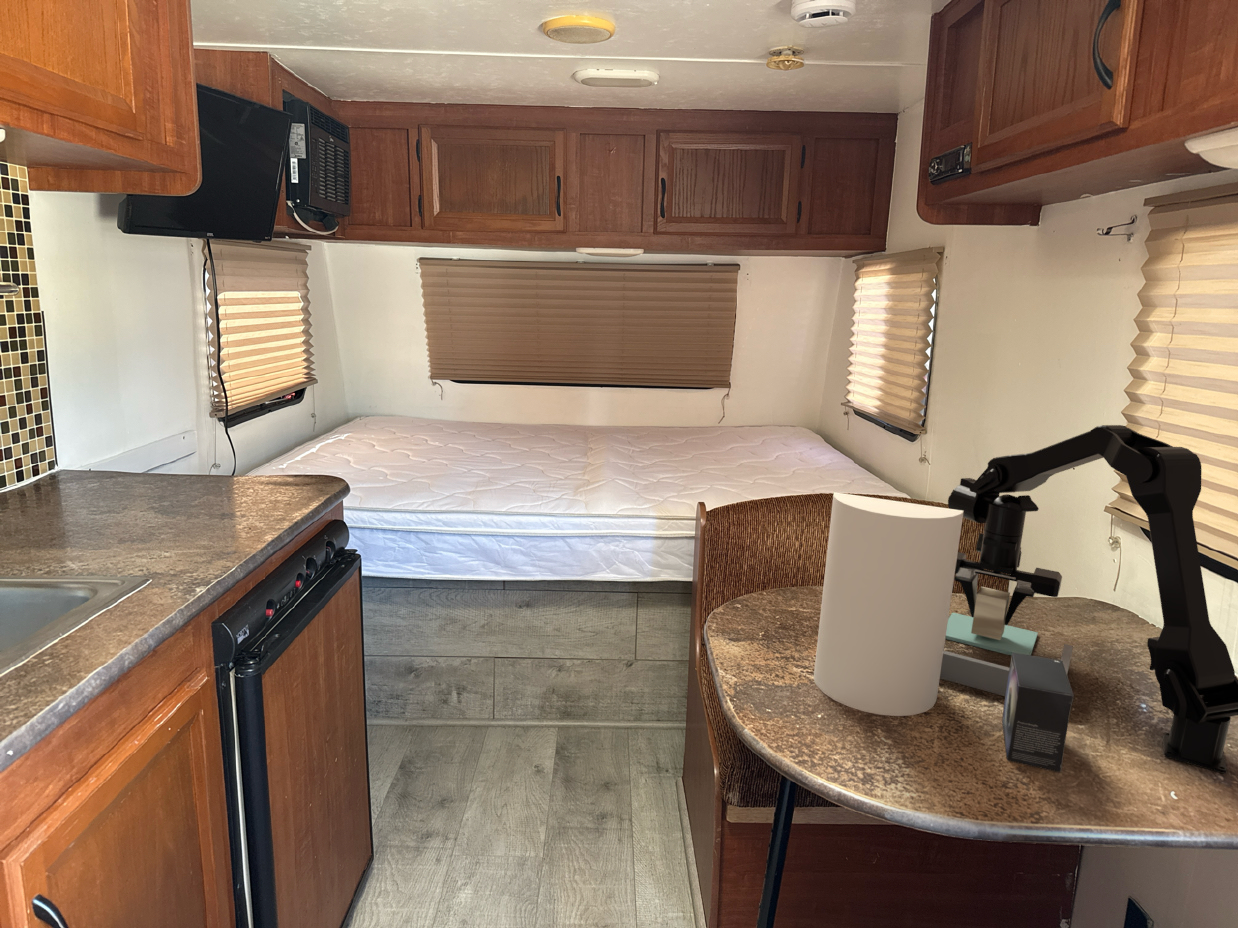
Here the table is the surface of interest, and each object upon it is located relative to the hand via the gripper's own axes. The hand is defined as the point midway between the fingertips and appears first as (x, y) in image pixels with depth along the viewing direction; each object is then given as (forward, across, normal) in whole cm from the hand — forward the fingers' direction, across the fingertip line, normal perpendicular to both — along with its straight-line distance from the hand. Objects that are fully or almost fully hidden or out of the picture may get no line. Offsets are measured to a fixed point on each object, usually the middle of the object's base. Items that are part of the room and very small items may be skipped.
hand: (989, 620), depth 136 cm
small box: (+4, -10, +33) cm, 35 cm away
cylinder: (+4, +11, +29) cm, 31 cm away
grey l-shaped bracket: (+4, 0, +12) cm, 13 cm away
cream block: (+2, 0, 0) cm, 2 cm away
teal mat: (+4, 0, -2) cm, 4 cm away
